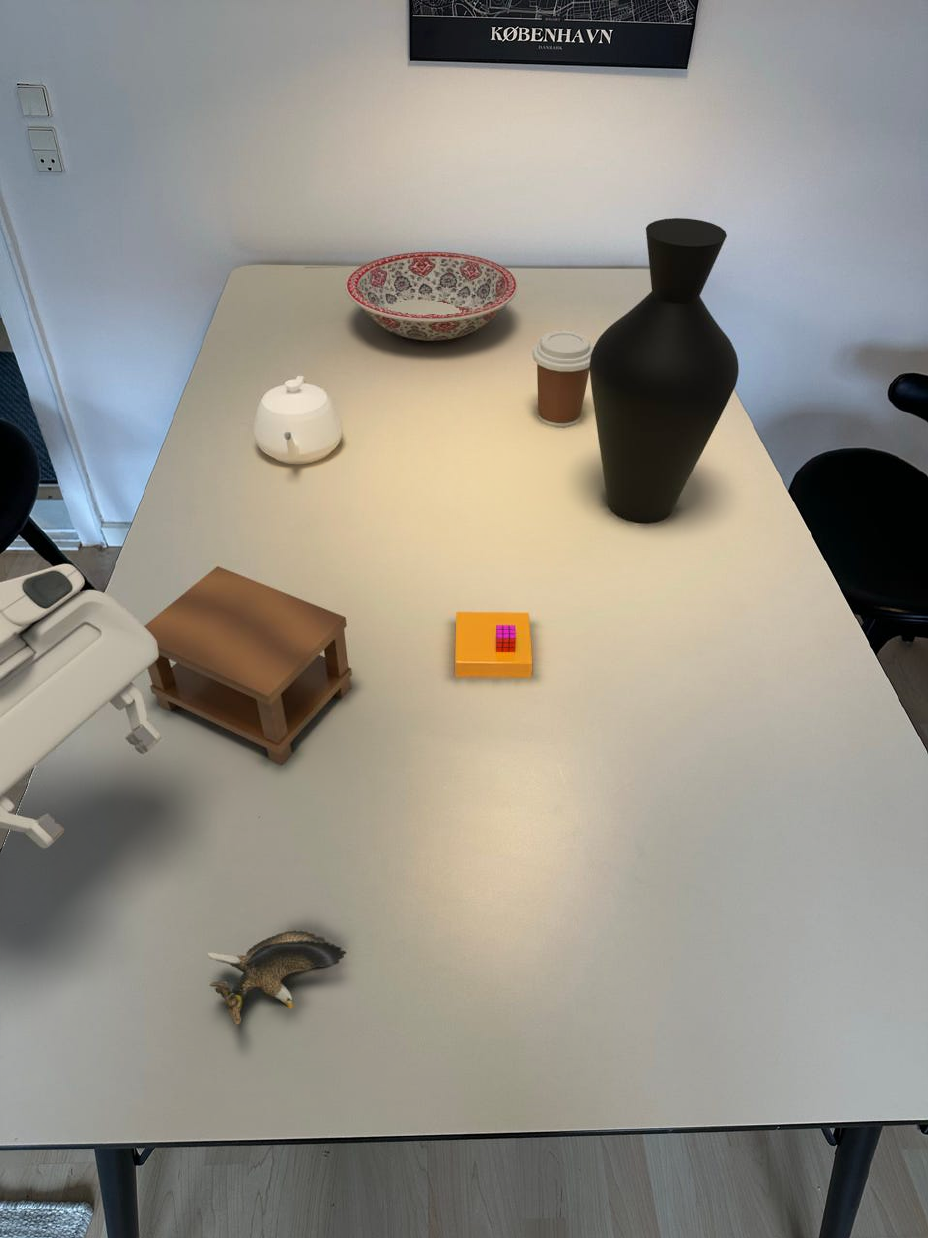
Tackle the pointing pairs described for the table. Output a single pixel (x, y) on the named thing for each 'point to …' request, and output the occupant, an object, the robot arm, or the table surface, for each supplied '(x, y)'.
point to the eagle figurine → (274, 966)
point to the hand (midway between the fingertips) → (105, 791)
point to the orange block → (493, 644)
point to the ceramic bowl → (432, 292)
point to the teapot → (297, 423)
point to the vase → (662, 376)
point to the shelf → (249, 658)
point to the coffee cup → (562, 376)
